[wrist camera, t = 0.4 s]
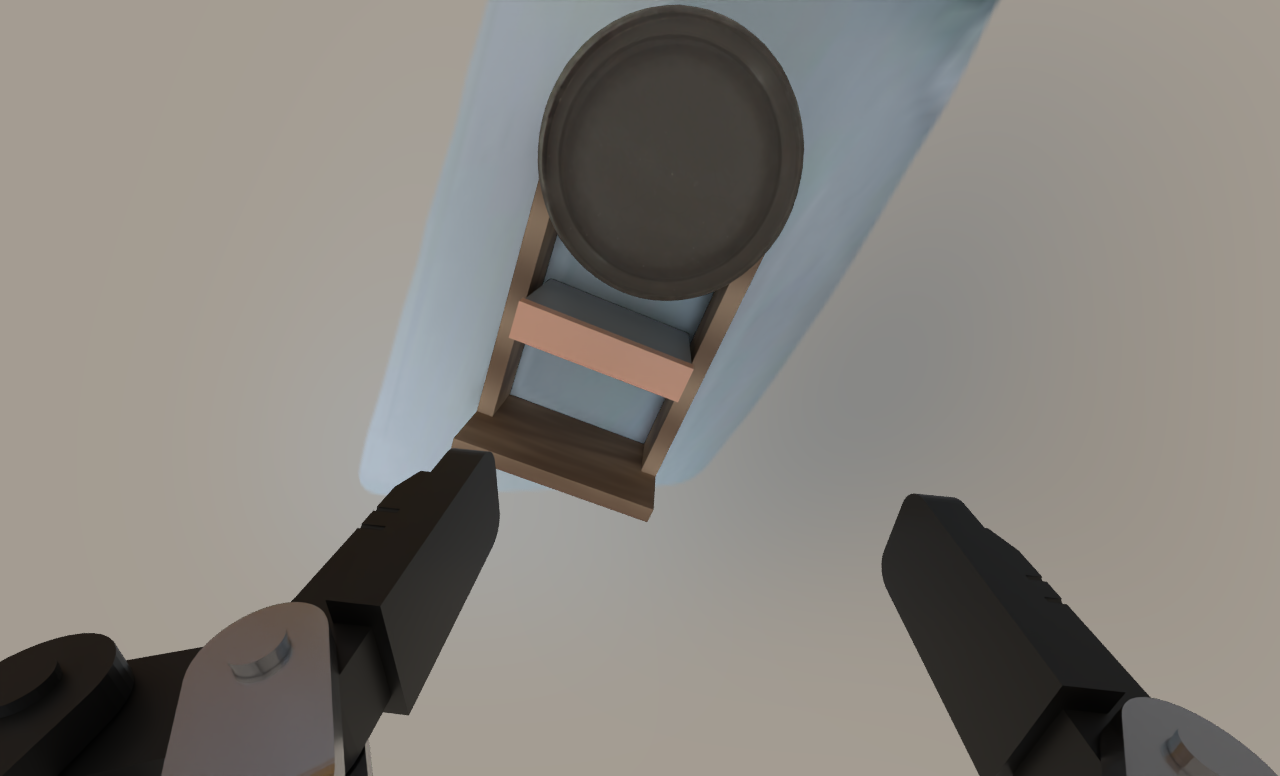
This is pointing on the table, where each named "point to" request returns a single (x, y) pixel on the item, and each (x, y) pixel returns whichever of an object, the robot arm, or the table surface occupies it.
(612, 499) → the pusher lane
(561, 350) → the pusher paddle
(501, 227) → the table surface
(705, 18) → the coffee can
